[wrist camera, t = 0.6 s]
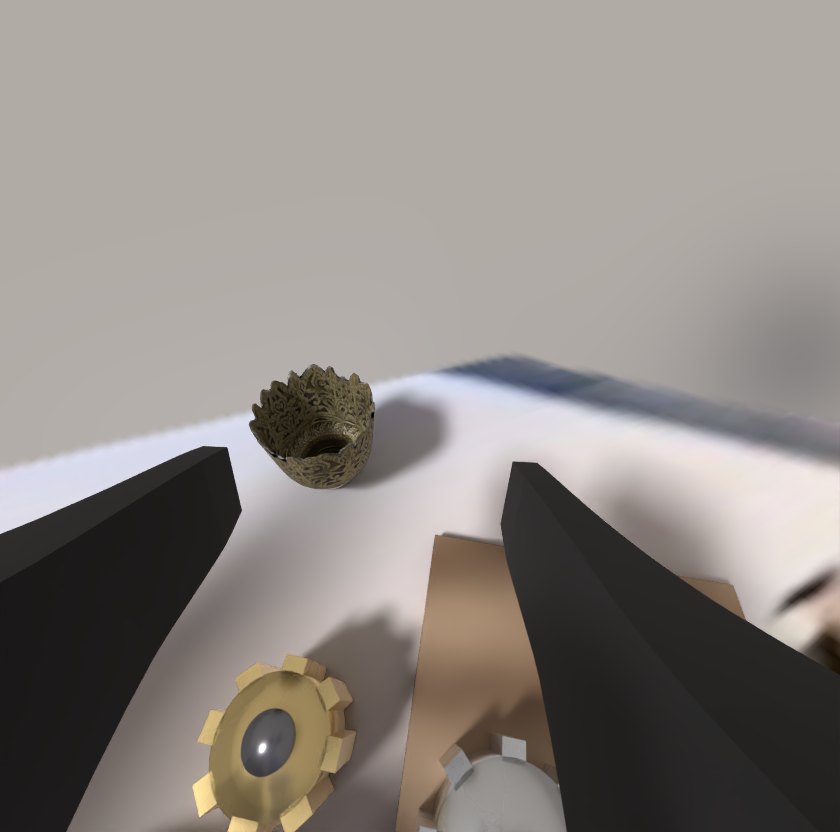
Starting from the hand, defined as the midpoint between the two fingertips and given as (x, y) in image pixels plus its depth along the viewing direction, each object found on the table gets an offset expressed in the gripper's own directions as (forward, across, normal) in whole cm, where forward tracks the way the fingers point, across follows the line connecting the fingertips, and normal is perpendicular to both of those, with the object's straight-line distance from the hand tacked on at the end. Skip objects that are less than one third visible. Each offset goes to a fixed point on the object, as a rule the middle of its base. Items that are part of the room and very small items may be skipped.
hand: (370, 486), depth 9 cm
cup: (+16, +5, +11) cm, 20 cm away
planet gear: (+2, +4, +17) cm, 18 cm away
